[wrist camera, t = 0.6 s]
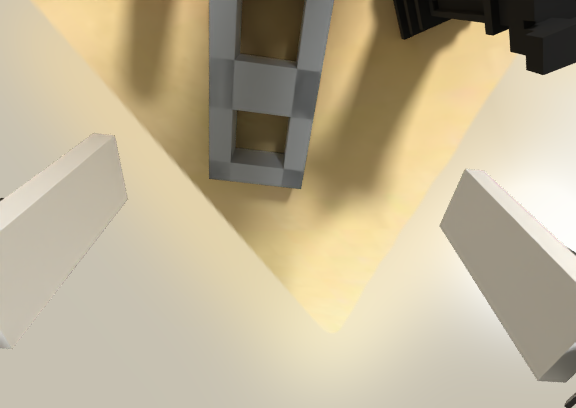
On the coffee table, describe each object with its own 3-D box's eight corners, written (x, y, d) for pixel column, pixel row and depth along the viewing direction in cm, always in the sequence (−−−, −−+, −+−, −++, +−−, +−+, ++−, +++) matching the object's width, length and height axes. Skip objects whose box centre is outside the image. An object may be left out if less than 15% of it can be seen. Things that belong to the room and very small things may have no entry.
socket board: (218, -50, 28) (209, -56, 24) (333, -31, 29) (340, -34, 25) (216, 162, 38) (209, 178, 35) (299, 172, 39) (301, 189, 36)
